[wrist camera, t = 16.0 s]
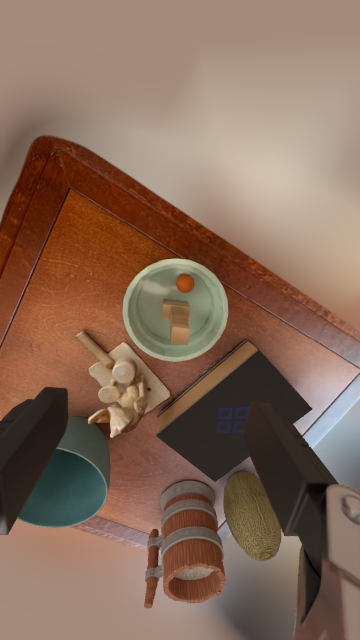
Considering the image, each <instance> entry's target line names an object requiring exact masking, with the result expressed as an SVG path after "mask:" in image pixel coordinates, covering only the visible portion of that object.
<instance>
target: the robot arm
mask: <svg viewBox="0 0 360 640" xmlns="http://www.w3.org/2000/svg"><path fill="white" fill-rule="evenodd" d="M67 424H68V392H67V389H66V388H54V387H45V388H44V389H43V390H42V391H41V392H40V393H39V394H38V395H37V396H36V398H35V399H34V400H33V399H27V400H26V401H24V402H22V403H21V404H19V405H17V406H16V407H14V408H13V409H12V410H11V411H10V412H9V413H8V414H7V415H6V416H5V417H4V418H3V419H2V421H0V535H8V533H9V531H10V530H11V528H12V526H13V524H14V523H15V521H16V519H17V517H18V516H19V514H20V512H21V510H22V509H23V507H24V505H25V503H26V501H27V500H28V498H29V496H30V494H31V493H32V491H33V489H34V487H35V485H36V484H37V482H38V480H39V478H40V477H41V475H42V473H43V471H44V469H45V468H46V466H47V464H48V462H49V461H50V459H51V457H52V455H53V453H54V452H55V450H56V448H57V446H58V445H59V443H60V441H61V439H62V437H63V436H64V433H65V431H66V428H67ZM243 436H244V442H245V445H246V448H247V450H248V452H249V455H250V457H251V459H252V462H253V464H254V466H255V468H256V471H257V473H258V475H259V478H260V480H261V482H262V485H263V487H264V489H265V492H266V494H267V496H268V499H269V501H270V503H271V506H272V508H273V510H274V512H275V515H276V517H277V519H278V522H279V524H280V526H281V529H282V531H283V533H284V536H298V537H299V539H300V541H301V543H302V547H301V549H300V557H299V573H298V588H297V602H296V617H295V628H294V635H293V640H360V494H359V493H357V492H356V491H354V490H352V489H350V488H348V487H345V486H343V485H339V484H338V482H337V481H336V480H335V478H334V477H333V476H332V475H331V474H330V472H329V471H328V469H327V468H326V467H325V465H324V464H323V463H322V462H321V460H320V459H319V458H318V456H317V455H316V454H315V452H314V451H313V450H312V448H311V447H309V445H308V443H307V442H306V441H305V439H304V438H302V435H301V434H300V433H299V432H298V430H297V429H296V428H295V426H294V425H293V424H292V423H290V422H289V421H288V420H287V419H286V418H284V417H283V416H280V415H279V414H278V413H277V411H276V410H275V408H274V407H273V406H272V405H271V404H270V403H262V402H252V403H251V405H250V408H249V412H248V415H247V419H246V423H245V427H244V432H243Z"/></svg>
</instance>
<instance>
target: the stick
mask: <svg viewBox="0 0 360 640" xmlns="http://www.w3.org/2000/svg"><path fill="white" fill-rule="evenodd" d="M189 314H190V305H189V303H188V302H187V301H180V300H172V299H163V306H162V316H161V318H165V319H169V324H170V342H171V343H173V344H182V345H188V340H189V334H190V327H189V324H188V321H189Z"/></svg>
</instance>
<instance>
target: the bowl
mask: <svg viewBox="0 0 360 640" xmlns="http://www.w3.org/2000/svg"><path fill="white" fill-rule="evenodd" d="M182 274H188V275H190V276H191V277H192V278H193V279H194V287H193V289H192V290H191V291H190V292H187V293H183V292H181V291H179V290H178V289H177V287H176V280H177V278H178V277H179V276H180V275H182ZM163 299H172V300H180V301H187V302H188V303H189V305H190V314H189V321H188V324H189V327H190V334H189V340H188V345H182V344H173V343H171V342H170V324H169V319H165V318H161V316H162V306H163ZM122 314H123V319H124V324H125V327H126V330H127V332H128V334H129V336H130V337H131V339H132V340H133V342H134V343H135V344H136V345H137V346H138V347H139V348H140V349H141V350H143V351H144V352H146V353H147V354H149V355H150V356H152V357H155V358H158V359H161V360H164V361H174V362H177V361H184V360H190V359H192V358H195V357H197V356H200V355H202V354H203V353H205V352H206V351H207V350H209V349H210V348H211V347H212V346H213V345H214V344H215V343H216V342H217V341H218V339H219V338H220V337H221V335H222V333H223V331H224V329H225V327H226V323H227V318H228V300H227V296H226V293H225V291H224V288H223V286H222V284H221V283H220V281H219V280H218V278H217V277H216V276H215V275H214V274H213V273H212V272H211V271H209V270H208V269H207V268H206V267H204V266H203V265H200V264H198V263H196V262H194V261H191V260H185V259H178V258H174V259H166V260H161V261H158V262H156V263H154V264H151V265H149V266H147V267H146V268H145V269H144V270H142V271H141V272H140V273H139V274H137V275H136V277H135V278H134V279H133V281H132V282H131V284H130V285H129V286H128V289H127V291H126V294H125V297H124V300H123V313H122Z"/></svg>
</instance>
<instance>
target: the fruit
mask: <svg viewBox="0 0 360 640" xmlns="http://www.w3.org/2000/svg"><path fill="white" fill-rule="evenodd" d="M224 513H225V517H226V521H227V523H228V526H229V528H230V531H231V533H232V535H233V536H234V538H235V540H236V541H237V543H238V544H239V545H240V546H241V548H242V549H243V550H244V551H245V552H246V553H247V554H248V555H249V556H250V557H252V558H253V559H255V560H258V561H266V560H269V559H271V558H273V557H274V556H275V555H276V553H277V552H278V550H279V547H280V543H281V526H280V524H279V522H278V519H277V517H276V515H275V512H274V510H273V508H272V506H271V503H270V501H269V499H268V496H267V494H266V492H265V489H264V487H263V485H262V482H261V480H260V479H259V478H258V477H257V476H255V475H254V474H252V473H249V472H244V471H240V472H236V473H235V474H233V475H232V476H231V477H230V478H229V479H228V481H227V483H226V486H225V491H224Z"/></svg>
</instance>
